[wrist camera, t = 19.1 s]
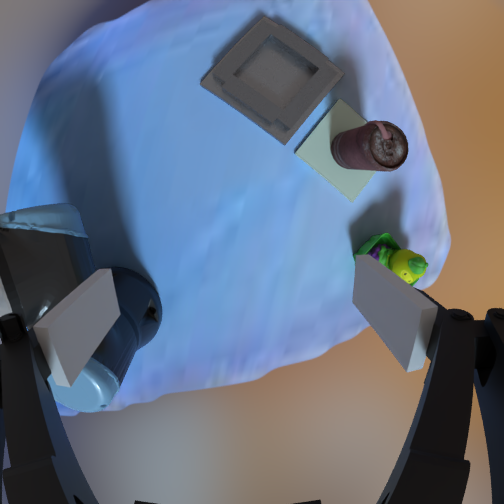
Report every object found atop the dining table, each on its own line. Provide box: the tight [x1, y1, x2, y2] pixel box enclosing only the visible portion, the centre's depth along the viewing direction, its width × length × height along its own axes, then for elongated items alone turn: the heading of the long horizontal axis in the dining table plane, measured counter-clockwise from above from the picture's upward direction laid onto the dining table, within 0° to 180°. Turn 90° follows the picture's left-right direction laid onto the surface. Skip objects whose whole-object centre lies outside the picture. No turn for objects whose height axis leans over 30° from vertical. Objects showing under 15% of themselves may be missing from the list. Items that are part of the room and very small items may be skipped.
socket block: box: [200, 16, 345, 145], centre depth 39 cm, size 16×16×4 cm
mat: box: [295, 99, 376, 203], centre depth 44 cm, size 12×12×1 cm
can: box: [331, 120, 408, 171], centre depth 37 cm, size 6×6×14 cm
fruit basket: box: [353, 233, 428, 286], centre depth 44 cm, size 11×9×11 cm
